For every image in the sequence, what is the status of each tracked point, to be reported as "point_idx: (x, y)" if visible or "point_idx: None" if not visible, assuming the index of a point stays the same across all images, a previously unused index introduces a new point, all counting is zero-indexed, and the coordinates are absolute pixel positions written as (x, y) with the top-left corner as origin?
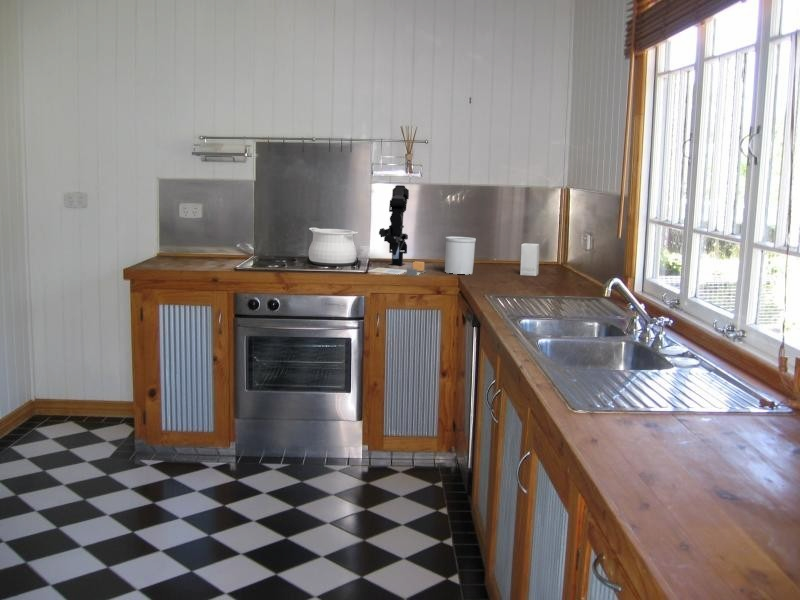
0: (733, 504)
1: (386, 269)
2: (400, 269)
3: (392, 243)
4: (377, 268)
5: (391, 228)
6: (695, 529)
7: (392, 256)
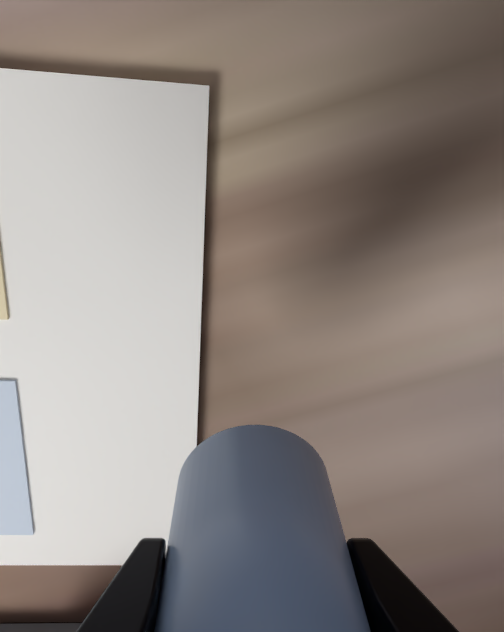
0: None
1: (42, 294)
2: None
3: None
4: (51, 105)
5: None
6: None
7: (205, 470)
